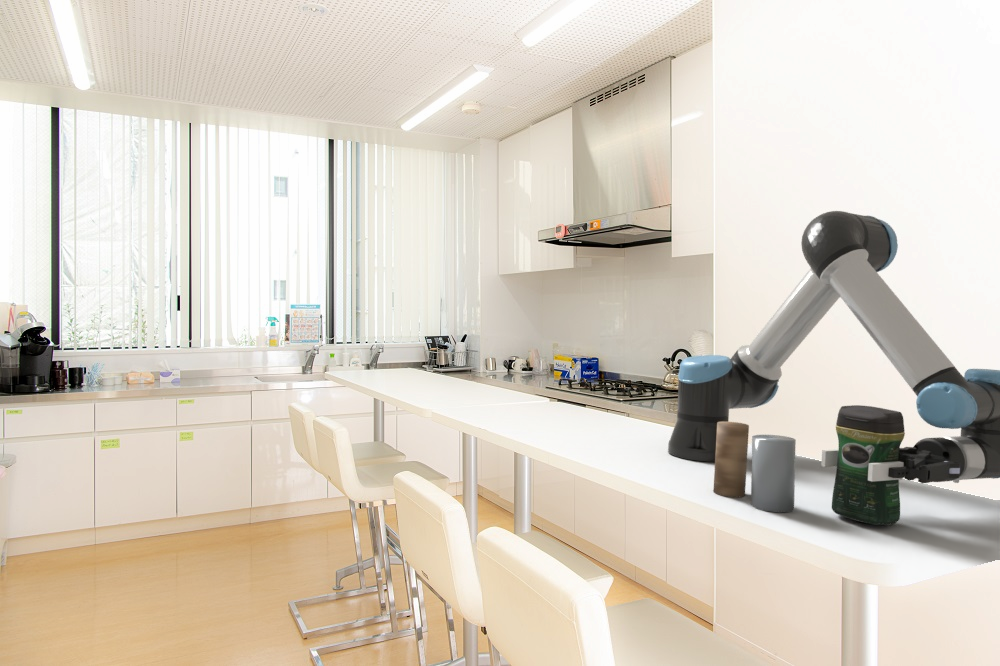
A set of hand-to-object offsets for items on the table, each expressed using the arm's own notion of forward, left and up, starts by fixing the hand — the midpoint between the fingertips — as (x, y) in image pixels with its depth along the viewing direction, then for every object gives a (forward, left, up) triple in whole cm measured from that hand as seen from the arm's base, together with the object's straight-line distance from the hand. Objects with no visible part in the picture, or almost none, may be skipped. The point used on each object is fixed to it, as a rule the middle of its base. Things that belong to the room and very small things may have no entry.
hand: (846, 465), depth 106 cm
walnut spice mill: (-19, -7, -10) cm, 23 cm away
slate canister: (-10, -5, -10) cm, 15 cm away
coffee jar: (0, +5, -9) cm, 10 cm away
